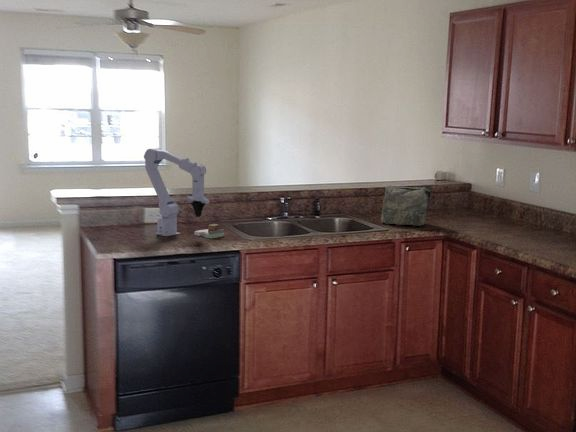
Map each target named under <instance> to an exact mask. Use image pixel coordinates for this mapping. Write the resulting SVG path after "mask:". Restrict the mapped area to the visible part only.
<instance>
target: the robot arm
mask: <svg viewBox="0 0 576 432" xmlns="http://www.w3.org/2000/svg"><path fill="white" fill-rule="evenodd" d="M143 158H144V159H143V160H144V165H145V171H146V173H147V175H148V178H149V179H150V180H149V181H150V182H151V184H152V186H153V189H154V191H155V193H156V196H157V198H158V200H159V202H158V207H159V209H158V210H159V214H160V215H161V217H160V218H158V219H157V222H156V235H160V236H164V237H169V236H177V235H181V232H177V231H178V229H177V228H178V225H177V224H178V223H177V222H178V221H177V220H178V217H177V216H178V213H179V212H180V206H179V205H178V203H176V201H175V199H174V198H172V197H171V196H170V194H169V192H168V189H167V187H166V185H165V182H164V180H163V178H162V176H161V174H160V172H159V170H158V167H159V165H160V164H161V162H162V161H164V160H166V161H169V162H171V163H172V164H175V165H178V168H179V170H182V171H185V172H186V173H188V174H190V175H191V178H192V179H191V180H192V182H191V183H192V185H191V186H192V187H191V189H192V192H191V193H192V194H191V195H192V196H187V197H186V201H187V202H188V201H189V202H190V201H191V203H190V204H191V206H192V208H193V211H194V215H195V217H197V218H198V217H199V218H200V217H201V215H202V212H203V209H204V206H205V205H208V204H210V199H207V198H206V197H205V175H206V173H207V169H206V166H205V165H203V164H202V163H200V164H198V162H195V161H192V160H190V158H189V157H183V158H180V157H179V156H177V155H175V154H173V153H171V152H169V151H167V150H166V149H163V148H161V147H157V148H148V149H146V151H144V155H143Z"/></svg>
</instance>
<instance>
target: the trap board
mask: <svg viewBox="0 0 576 432" xmlns="http://www.w3.org/2000/svg"><path fill="white" fill-rule="evenodd" d="M194 236H196V237H197V236H198V237H201V238H205V239H210V240H211V239H216V238H222V237H225V229H224V228H223V229H220V230H216V231H210V233H208V228H207V229H199V230H194Z"/></svg>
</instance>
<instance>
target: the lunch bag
mask: <svg viewBox="0 0 576 432" xmlns="http://www.w3.org/2000/svg"><path fill="white" fill-rule="evenodd" d="M383 189H384V198H383V203H382V208H381V220H380V222H381V223H382V224H383V223H385V224H384V225H389V224H396V225H395V226H401V225H413V226H412V227H415V226H419V227H422V225H423V226H424V225H426V219H427V207H428V198H431V191H430V189H428V188H426V187H413V186H412V187H411V186H409V187H408V186H393V185H387V186H386V187H383Z"/></svg>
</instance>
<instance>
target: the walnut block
mask: <svg viewBox="0 0 576 432" xmlns="http://www.w3.org/2000/svg"><path fill="white" fill-rule="evenodd" d="M220 227H221V226H220V224H217V223H212V224H211V223H210V224H208V225H207V229H208V233H210V231H216V230H221V229H220Z"/></svg>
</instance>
